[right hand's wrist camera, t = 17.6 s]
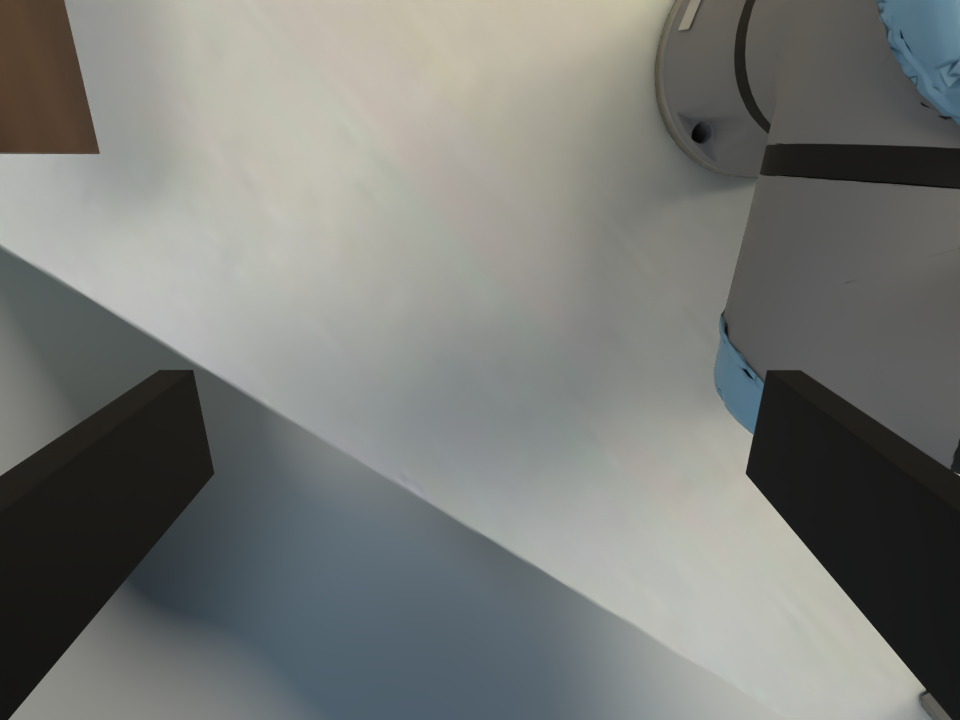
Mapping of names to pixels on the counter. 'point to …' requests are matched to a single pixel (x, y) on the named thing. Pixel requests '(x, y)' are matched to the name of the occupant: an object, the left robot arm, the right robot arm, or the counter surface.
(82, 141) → the beam
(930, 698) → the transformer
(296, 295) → the counter surface
